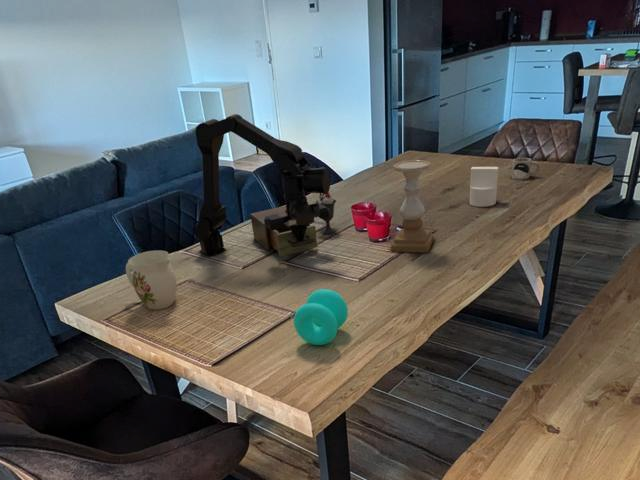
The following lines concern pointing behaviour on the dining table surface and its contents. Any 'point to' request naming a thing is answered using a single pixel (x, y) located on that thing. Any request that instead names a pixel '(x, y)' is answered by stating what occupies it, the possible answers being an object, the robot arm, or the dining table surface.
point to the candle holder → (412, 211)
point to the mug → (523, 168)
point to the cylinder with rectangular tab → (483, 186)
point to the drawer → (292, 240)
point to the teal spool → (321, 317)
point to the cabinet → (259, 226)
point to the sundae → (329, 203)
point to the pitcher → (153, 278)
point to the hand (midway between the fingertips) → (300, 244)
